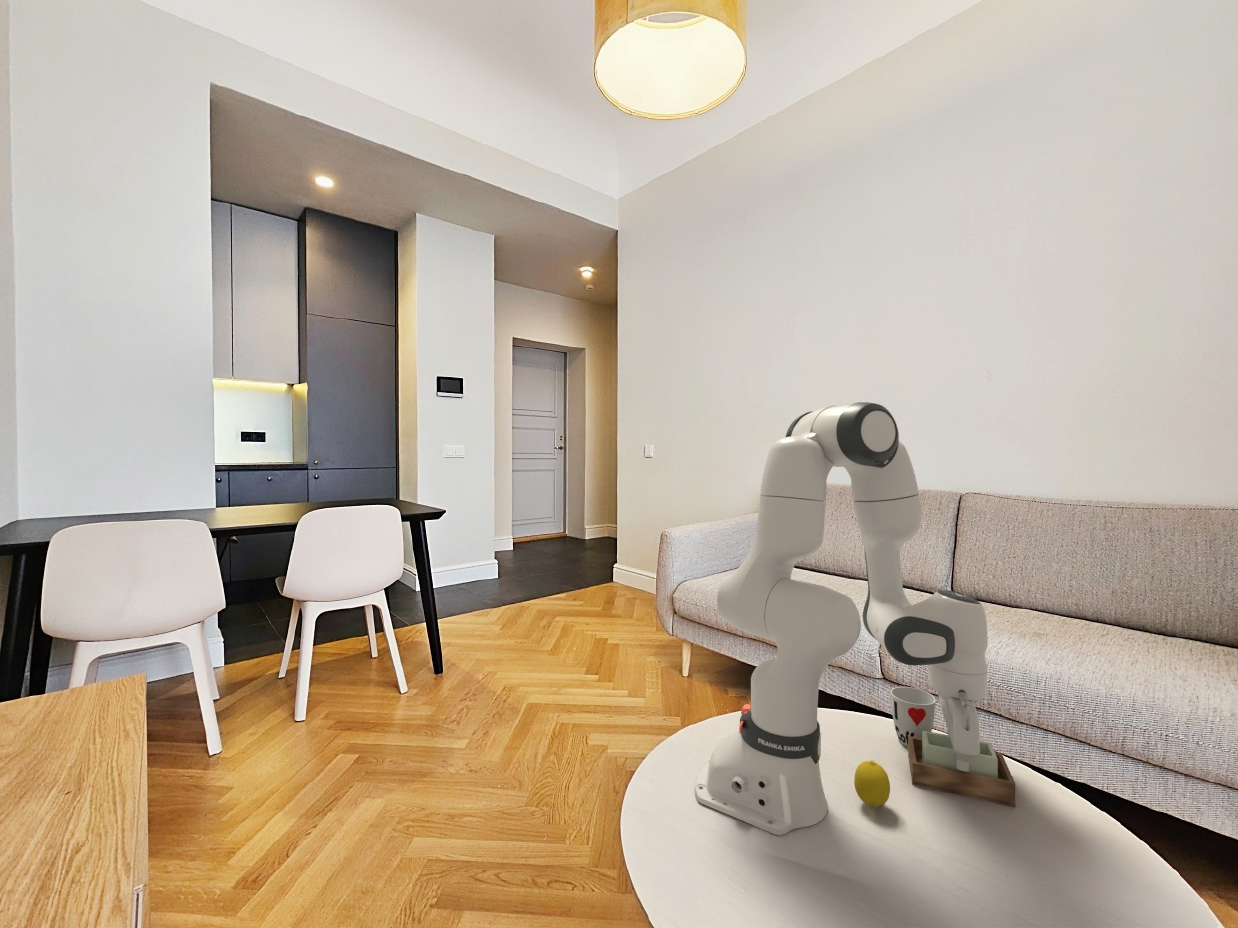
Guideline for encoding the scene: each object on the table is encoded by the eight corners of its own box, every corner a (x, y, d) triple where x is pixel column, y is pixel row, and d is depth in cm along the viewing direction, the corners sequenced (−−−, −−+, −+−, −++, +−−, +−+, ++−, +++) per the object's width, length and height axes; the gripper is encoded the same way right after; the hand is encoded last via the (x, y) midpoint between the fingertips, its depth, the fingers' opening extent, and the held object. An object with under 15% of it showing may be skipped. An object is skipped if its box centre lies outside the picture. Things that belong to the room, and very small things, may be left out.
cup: (884, 742, 111) (884, 694, 111) (899, 728, 116) (899, 682, 116) (927, 758, 105) (927, 708, 105) (940, 743, 110) (941, 695, 110)
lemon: (853, 812, 90) (853, 765, 90) (854, 793, 95) (854, 748, 95) (890, 821, 87) (890, 774, 87) (889, 801, 92) (889, 756, 92)
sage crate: (925, 777, 98) (925, 745, 98) (922, 760, 103) (922, 730, 103) (997, 792, 93) (997, 758, 93) (990, 774, 98) (990, 742, 98)
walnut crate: (912, 784, 97) (912, 762, 97) (908, 755, 106) (908, 735, 106) (1015, 807, 91) (1015, 784, 90) (1001, 774, 100) (1001, 753, 99)
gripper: (991, 709, 87) (990, 792, 87) (968, 662, 106) (967, 731, 106) (946, 702, 90) (945, 782, 90) (931, 657, 108) (931, 724, 109)
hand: (957, 754), depth 98 cm, fingers open, 8 cm apart
